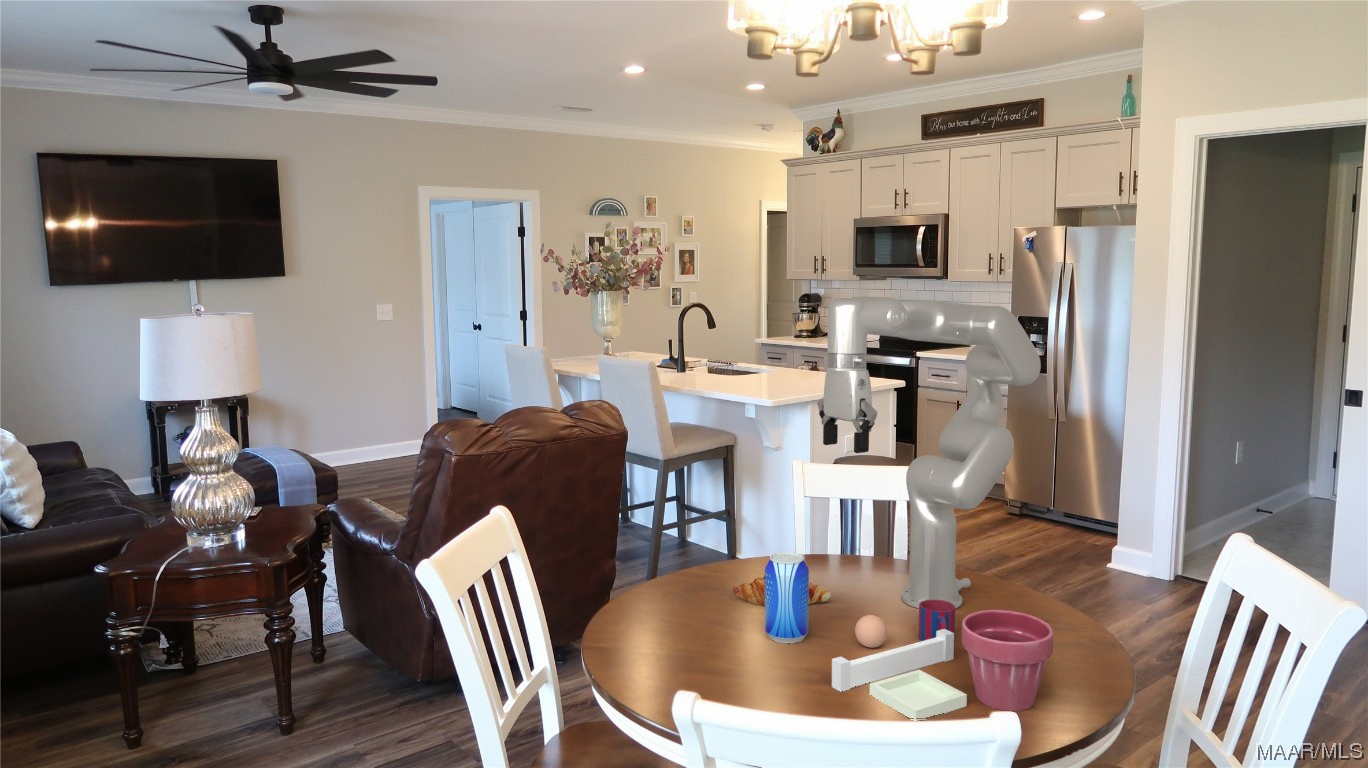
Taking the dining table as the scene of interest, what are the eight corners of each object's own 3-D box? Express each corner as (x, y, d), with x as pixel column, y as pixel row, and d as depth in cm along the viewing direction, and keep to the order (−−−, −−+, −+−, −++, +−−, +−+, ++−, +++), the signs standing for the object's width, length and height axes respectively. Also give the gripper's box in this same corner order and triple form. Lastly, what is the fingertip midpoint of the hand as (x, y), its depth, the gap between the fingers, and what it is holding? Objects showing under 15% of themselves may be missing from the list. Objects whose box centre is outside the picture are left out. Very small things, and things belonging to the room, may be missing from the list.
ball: (872, 637, 177) (873, 608, 176) (893, 648, 172) (894, 618, 171) (848, 644, 174) (848, 613, 173) (869, 655, 169) (869, 624, 168)
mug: (952, 633, 179) (953, 600, 178) (957, 654, 169) (958, 619, 168) (917, 631, 180) (918, 598, 179) (920, 652, 170) (921, 617, 169)
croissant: (829, 613, 200) (828, 576, 202) (833, 607, 190) (833, 568, 193) (732, 610, 201) (733, 573, 204) (732, 604, 192) (732, 565, 194)
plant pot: (1003, 727, 142) (1006, 648, 140) (942, 690, 154) (943, 618, 153) (1070, 707, 148) (1073, 632, 146) (1005, 674, 160) (1007, 604, 159)
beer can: (806, 646, 173) (807, 565, 171) (762, 643, 175) (762, 562, 173) (809, 629, 181) (810, 551, 180) (767, 627, 183) (767, 549, 181)
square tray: (918, 680, 158) (919, 669, 158) (966, 706, 149) (966, 694, 149) (869, 695, 153) (869, 683, 153) (915, 722, 143) (915, 710, 143)
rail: (943, 654, 169) (944, 628, 168) (953, 659, 167) (954, 633, 166) (831, 686, 156) (831, 658, 156) (840, 692, 154) (840, 664, 154)
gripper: (891, 364, 172) (889, 453, 174) (834, 357, 187) (833, 440, 189) (860, 366, 169) (858, 457, 171) (804, 359, 184) (804, 443, 186)
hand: (845, 448), depth 180 cm, fingers open, 9 cm apart
